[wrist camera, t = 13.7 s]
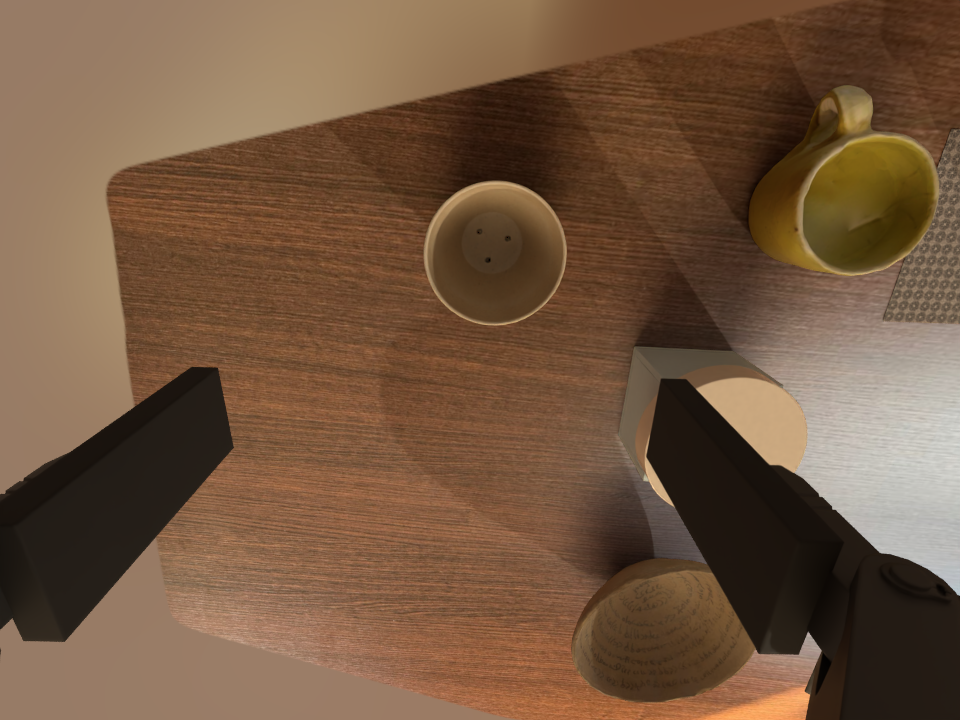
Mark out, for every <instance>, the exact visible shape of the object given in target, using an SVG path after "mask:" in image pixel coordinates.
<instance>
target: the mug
mask: <svg viewBox="0 0 960 720" xmlns="http://www.w3.org/2000/svg"><path fill="white" fill-rule="evenodd" d="M872 114H873V104H872V98H871V96H870V95H869V94H867V93H866V92H865V90H864V89H862V88H859V87H855V86H850V85H844V86H840V87H837V88H834V89H832V90H831V91H830V92H829V93H827V94H826V95H825V96H824V97H823V98H822V99H821V101H820V103H819V105H818V106H817V107H816V109H815V112H814V114H813V116H812V119H811V121H810V123H809V128H808V131H807V133H806V136H805V138H804V140H803V141H802V142H801V143H799V144H798V145H797V146H796V147H795V148H793V149H792V150H791V151H790V152H789V153H788V154H787V155H786V156H785V157H784V158H783V159H782V160H781V161H779V162H778V163H777V164H776V165H775V166H774V167H773V168H772V169H771V170H770V171H769V172H768V173H767V174H766V175H765V176H764V177H763V178H762V179H761V181H760V182H759V183H758V185H757V186H756V188H755V190H754V192H753V195H752V197H751V200H750V205H749V219H748V222H749V228H750V232H751V236H752V238H753V240H754V242H755V243H756V245H757V246H758V247H759V248H760V249H761V250H762V251H763V252H764V253H765V254H767V255H768V256H770V257H771V258H773V259H775V260H778V261H781V262H784V263H788V264H792V265H796V266H799V267H803V268H807V269H811V270H815V271H821V272H828V273H834V274H839V275H845V276H853V275H861V274H867V273H871V272H874V271H880V270H883V269H885V268H887V267H889V266H891V265H892V264H894V263H895V262H896V261H898V260H900V259H902V258H904V257H905V256H907V255H908V254H909V253H910V252H911V251H912V250H913V249H914V248H915V247H916V245H917V244H918V243H919V242H920V240H921V239H922V238H923V236H924V235H925V234H926V232H927V230H928V228H929V227H930V225H931V223H932V220H933V218H934V215H935V212H936V208H937V203H938V199H939V179H938V173H937V169H936V166H935V163H934V160H933V158H932V156H931V155H930V153H929V152H928V150H927V149H926V148H924V147H923V146H922V145H921V144H920V143H919V142H918V141H916V140H915V139H913V138H911V137H909V136H906V135H903V134H899V133H893V132H879V131H874V130H872V129H871V126H870V123H871V117H872ZM836 127H837V129H836ZM835 129H836V130H835ZM834 131H835V132H834Z"/></svg>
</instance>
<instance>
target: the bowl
mask: <svg viewBox="0 0 960 720" xmlns="http://www.w3.org/2000/svg"><path fill="white" fill-rule="evenodd" d="M755 649H756V648H755V646H754V645H753V643H752V641H751V639H750V638H749V636H748V634H747V632H746V631H745V629H744V627H743V625H742V624H741V622H740V620H739V618H738V617H737V615H736V613H735V611H734V610H733V608H732V606H731V604H730V603H729V601H728V599H727V597H726V596H725V594H724V592H723V590H722V589H721V587H720V585H719V583H718V582H717V580H716V578H715V576H714V575H713V573H712V571H711V569H710V568H709V566H708V564H704V563H700V562H696V561H690V560H680V559H668V558H656V559H649V560H644V561H641V562H638V563H635V564H633V565H630V566H628V567H626V568H624V569H623V570H621V571H620V572H618V573H617V574H615V575H614V576H613V577H612V578H611V579H610V580H608V581H607V582H606V583H605V584H604V585H603V586H602V587H601V588H600V589H599V590H598V591H597V592H596V594H595V595H594V596H593V597H592V598H591V600H590V601H589V602H588V603H587V605H586V606H585V608H584V610H583V612H582V614H581V616H580V618H579V620H578V622H577V625H576V628H575V631H574V634H573V638H572V647H571V652H572V658H573V662H574V665H575V667H576V669H577V671H578V673H579V674H580V675H581V677H582V678H583V679H584V680H585V681H586V682H587V683H588V684H589V685H590V686H591V687H593V688H594V689H596V690H597V691H599V692H601V693H603V694H605V695H607V696H610V697H613V698H617V699H622V700H625V701H629V702H643V703H659V702H667V701H672V700H677V699H684V698H688V697H692V696H696V695H699V694H702V693H704V692H705V691H708V690H712V689H714V688H716V687H718V686H719V685H721V684H722V683H724V682H725V681H727V680H729V679H730V678H731V677H733V676H734V675H736V674H737V673H738V672H739V671H740V670H741V669H742V668H743V667H744V666H745V664H746V663H747V662H748V661H749V659H750V658H751V656H752V654H753V652H754V651H755Z"/></svg>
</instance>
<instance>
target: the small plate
mask: <svg viewBox="0 0 960 720" xmlns="http://www.w3.org/2000/svg"><path fill="white" fill-rule="evenodd" d="M677 379H687V380H688V381H689V382H690V383H691V384H692V385H693V386H694V387H695V388H696V389H697V390H698V392H699V393H700V394H701V395H702V396H703V397H704V398H705V399H706V400H707V401H708V402H709V403H710V404H711V405H712V406H713V407H714V408H715V409H716V410H717V411H718V412H719V413H720V414H721V415H722V416H723V417H724V418H725V419H726V420H727V421H728V422H729V424H730V425H731V426H732V427H733V428H734V429H735V430H736V431H737V432H738V433H739V434H740V435H741V436H742V437H743V438H744V439H745V440H746V441H747V442H748V443H749V444H750V445H751V446H752V447H753V448H754V449H755V450H756V451H757V452H758V453H759V454H760V456H761V457H762V458H763V459H764V460H765V461H766V462H767V463H768V464H769V465H781V466H783V467H785V468H786V469H788V470H790V471H791V472H793V473H794V472H795V471H796V469H797V468H798V466H799V464H800V462H801V460H802V457H803V455H804V452H805V448H806V444H807V424H806V419H805V416H804V414H803V411H802V409H801V407H800V406H799V404H798V402H797V401H796V400H795V399H794V398H793V397H792V395H790V394H789V393H788V392H787V391H786V390H784V389H783V388H782V387H780V386H779V385H777V384H776V383H774V382H773V381H772V380H770V379H769V378H767V377H766V376H764V375H762V374H761V373H759V372H757V371H754V370H752V369H749V368H745V367H741V366H734V365H716V366H709V367H705V368H701V369H697V370H694V371H692V372H689V373H687V374H685V375H683V376H681V377H679V378H677ZM657 396H658V394H657V395H656V396H655V397H654V398H653V399H652V400H651V402H650V403H649V404H648V406H647V407H646V409H645V411H644V412H643V414H642V416H641V419H640V421H639V424H638V427H637V431H636V439H635V447H636V454H637V458H638V461H639V464H640V466H641V468H642V469H643V471H644V473H645V475H646V477H647V478H648V480H649V482H650V484H651V486H652V487H653V489H654V490H655V491H656V493H657V494H658V495H659V496H660V497H661V498H662V499H663V500H664V501H666V502H667V503H669V504H670V505H672V506H673V507H674V505H673V503H672V501H671V500H670V498H669V496H668V494H667V493H666V491H665V489H664V487H663V486H662V484H661V482H660V480H659V479H658V477H657V475H656V473H655V472H654V470H653V468H652V466H651V465H650V463H649V461H648V459H647V458H646V454H647V449H648V444H649V438H650V433H651V428H652V422H653V417H654V412H655V406H656V401H657Z"/></svg>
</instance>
